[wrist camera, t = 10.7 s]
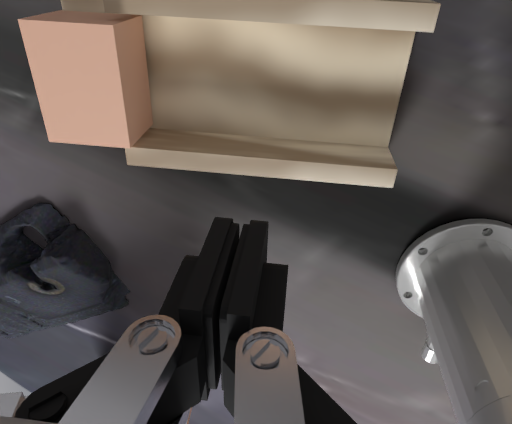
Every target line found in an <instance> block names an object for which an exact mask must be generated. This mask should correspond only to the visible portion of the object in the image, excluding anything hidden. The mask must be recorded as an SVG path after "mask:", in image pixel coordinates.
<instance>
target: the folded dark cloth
mask: <svg viewBox="0 0 512 424" xmlns="http://www.w3.org/2000/svg"><path fill="white" fill-rule="evenodd" d="M67 225H68V226H67ZM23 226H31V227H33V228H35V229H37V230H38V231H39V233H41V234H42V235H43V237H44V238H45V239H46V240H47V243H48V245H47V246H46V249H44V250H43V249H42V248H41V247H40V246H38V245H37V244H36V243H34V242H33V241H31V240H30V239H29V238H28V237H27V236H26V235H24V234H23V232H22V229H23ZM66 226H67V227H66ZM129 292H130V291H129V290H128V289H127V288H126V286H125V285H124V284H123V283H122V282H121V280H120V279H119V278H118V277H117V276H116V275H115V274H114V273H113V271H112V270H111V267H110V263H109V260H108V259H107V258H106V257H105V255H104V254H103V253H102V252H101V250H100V249H99V248H98V247H97V246H96V245H95V244H94V243H93V242H92V241H91V239H90V238H89V237H88V236H87V235H86V234H85V233H84V232H83V231H82V230H80V229H77V228H76V226H75V224H73V225H70V224H69V221H68V220H67V218H66V217H65V216H61V215H60V214H59V213H58V211H57V210H55V209H53V207H52V205H50V204H43V203H39V204H36V205H34V206H33V207H32V208H31V209H27V210H24V211H22V212H20V214H19V215H18V216H16V217H14V218H13V219H11V220H9V221H7V222H6V223H4V224H3V225H1V226H0V336H3V337H4V338H14V337H19V336H21V335H26V334H29V333H31V332H33V331H36V330H37V331H39V330H42V329H47V328H49V327H55V326H61V325H64V324H67V323H74V322H76V321H79V320H84V319H87V318H89V317H92V316H96V315H100V314H103V313H105V312H108V311H113V310H115V309H120V308H123V307H124V306H126V305H127V304H128V301H127V299H125V297H126V294H127V293H129Z"/></svg>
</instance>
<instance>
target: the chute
mask: <svg viewBox="0 0 512 424" xmlns="http://www.w3.org/2000/svg"><path fill="white" fill-rule="evenodd" d="M61 4H62V9H63V10H64V11H81V12H97V13H114V14H130V15H142V21H143V31H144V41H145V50H146V60H147V70H148V79H149V89H150V99H151V108H152V118H153V125H152V126H151V127H150V128H149V129H148V130H147V131H146V132H145V133H144V134H143V135H142V136H141V138H140V139H139V140H138V141H137V142H136V143H135V144H134V145H133V146H132V147H131V148H125V152H126V159H127V165H135V166H146V167H158V168H169V169H181V170H192V171H204V172H215V173H227V174H238V175H250V176H261V177H272V178H284V179H295V180H307V181H318V182H330V183H341V184H353V185H364V186H376V187H387V188H393V185H394V181H395V178H396V174H397V170H398V169H397V167H396V165H395V162H394V160H393V158H392V155H391V153H390V151H389V148H388V145H389V141H390V137H391V132H392V128H393V124H394V120H395V116H396V112H397V107H398V103H399V99H400V95H401V91H402V86H403V82H404V78H405V74H406V70H407V65H408V61H409V57H410V53H411V49H412V44H413V40H414V36H415V32H416V31H417V32H434V28H435V25H436V21H437V17H438V13H439V9H440V5H441V4H440V3H437V2H434V1H431V0H61Z"/></svg>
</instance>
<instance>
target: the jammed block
mask: <svg viewBox="0 0 512 424" xmlns="http://www.w3.org/2000/svg"><path fill="white" fill-rule="evenodd" d="M18 22H19V26H20V30H21V34H22V38H23V41H24V45H25V49H26V53H27V57H28V61H29V65H30V69H31V73H32V76H33V80H34V84H35V88H36V92H37V96H38V100H39V104H40V108H41V111H42V115H43V119H44V123H45V127H46V131H47V135H48V139H49V142H58V143H70V144H82V145H94V146H106V147H118V148H131V147H132V146H133V145H134V144H135V143H136V142H137V141H138V140H139V139H140V138H141V136H142V135H143V134H144V133H145V132H146V131H147V130H148V129H149V128H150V127H151V126H152V125H153V118H152V108H151V99H150V89H149V79H148V70H147V60H146V50H145V41H144V31H143V21H142V15H130V14H114V13H97V12H81V11H64V10H59V11H54V12H50V13H45V14H40V15H36V16H31V17H26V18H21V19H18Z"/></svg>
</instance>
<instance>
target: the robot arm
mask: <svg viewBox="0 0 512 424" xmlns="http://www.w3.org/2000/svg"><path fill="white" fill-rule="evenodd" d="M267 242H268V222H267V221H255V220H251V221H250V225H248V224H244V225H243V228H242V232H241V235H240V239H239V224H237V223H233V219H232V218H221V217H215V218H214V220H213V223H212V225H211V228H210V230H209V233H208V235H207V238H206V240H205V243H204V245H203V248H202V250H201V253H200V255H199V256H189V255H186V256H185V257H184V259H183V261H182V263H181V266H180V268H179V270H178V272H177V274H176V277H175V279H174V281H173V283H172V285H171V288H170V290H169V292H168V294H167V297H166V299H165V301H164V303H163V305H162V308H161V310H160V312H159V314H158V315H149V316H146V317H143V318H140V319H138V320H137V321H135V322H134V323H132V324H131V325H130V326H129V327H128V328H127V329H126V330H125V332H124V333H123V335H122V336H121V337H120V339H119V340H118V342H117V343H116V344H115V346H114V347H113V348H112V350H111V351H110V353H108V354H106V355H104V356H102V357H100V358H98V359H96V360H94V361H92V362H90V363H88V364H86V365H84V366H82V367H80V368H78V369H76V370H74V371H72V372H71V373H69V374H67V375H65V376H63V377H61V378H59V379H57V380H55V381H53V382H51V383H49V384H47V385H45V386H43V387H41V388H39V389H38V390H36V391H34V392H33V393H31V394H30V395H29V396H24V395H23V393H22V392H16V393H5V394H0V424H186V422H187V420H188V416H189V413H190V408H192V407H193V406H195V405H196V404H198V403H199V402H201V400H206V401H207V400H208V396H209V392H210V389H217V387H218V383H219V378H220V374H221V379H222V390H224V405H225V407H226V408H227V409H228V411H229V412H230V413H231V415H232V416H233V417H234V424H357V423H356V422H355V421H354V420H353V419H352V418H351V417H350V416H349V415H348V414H347V413H346V412H345V411H344V410H343V409H342V408H341V407H340V406H339V405H338V404H337V403H336V402H335V401H334V400H333V399H332V398H331V397H330V396H329V395H328V394H327V393H326V392H325V391H324V390H323V389H322V388H321V387H320V386H319V385H318V384H317V383H316V382H315V381H314V380H313V379H312V378H311V377H310V376H309V375H308V374H307V373H306V372H305V371H304V370H303V369H302V368H301V367H300V366H299V365H298V364H297V359H296V352H295V347H294V344H293V342H292V340H291V339H290V338H289V336H288V335H286V334H285V333H284V332H283V321H284V310H285V298H286V287H287V275H288V265H282V264H272V263H267ZM395 278H396V286H397V289H398V293H399V296H400V298H401V300H402V301H403V303H404V304H405V305H406V306H407V308H408V309H409V310H411V311H412V312H413V313H415V314H416V315H418V316H420V317H422V318H424V321H425V324H426V327H427V330H426V331H427V335H428V338H427V339H426V341H425V344H424V346H423V349H422V351H421V355H422V357H423V359H424V360H425V361H427V362H429V363H432V364H436V363H438V364H439V367H440V370H441V373H442V376H443V379H444V382H445V385H446V389H447V392H448V395H449V398H450V401H451V404H452V407H453V410H454V413H455V416H456V419H457V422H458V424H512V225H510V224H507V223H504V222H501V221H497V220H490V219H465V220H459V221H454V222H451V223H447V224H444V225H441V226H439V227H437V228H435V229H432V230H430V231H428V232H427V233H425V234H424V235H422V236H421V237H419V238H418V239H416V240H415V241H414V242H413V243H412V244H411V245H410V246H409V247H408V248H407V249H406V251H405V252H404V254H403V255H402V256H401V258H400V261H399V263H398V265H397V269H396V275H395Z"/></svg>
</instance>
